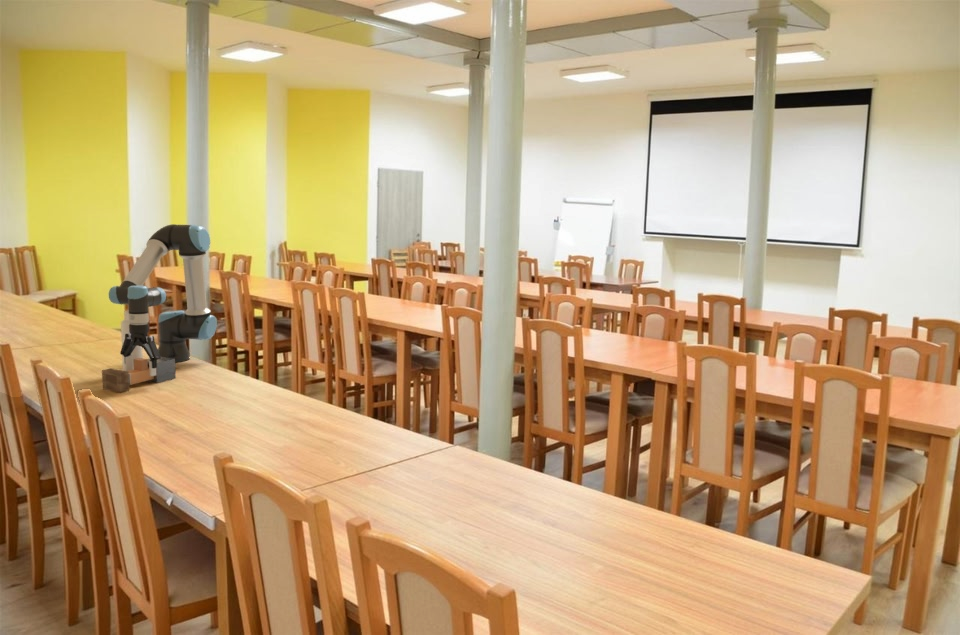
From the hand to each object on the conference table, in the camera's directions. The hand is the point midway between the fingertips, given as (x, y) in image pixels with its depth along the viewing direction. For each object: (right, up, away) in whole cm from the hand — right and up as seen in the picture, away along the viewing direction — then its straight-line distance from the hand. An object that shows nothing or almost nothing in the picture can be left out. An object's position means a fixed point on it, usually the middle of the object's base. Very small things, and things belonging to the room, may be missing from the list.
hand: (141, 373), depth 313 cm
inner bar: (+1, -2, +3) cm, 4 cm away
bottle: (-11, -2, +16) cm, 19 cm away
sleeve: (+4, -3, +9) cm, 10 cm away
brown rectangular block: (-5, -6, -11) cm, 13 cm away
